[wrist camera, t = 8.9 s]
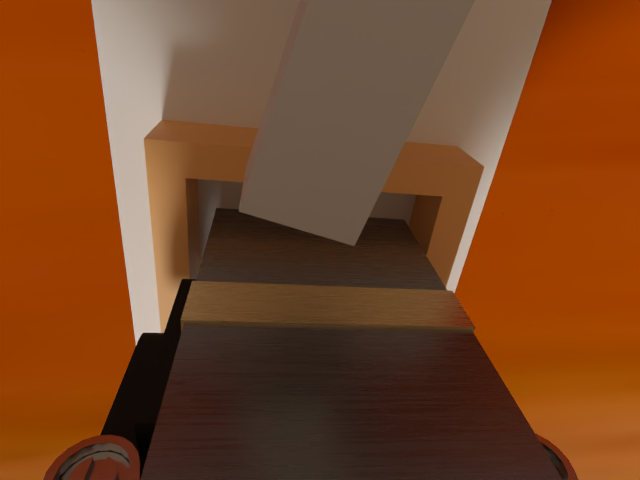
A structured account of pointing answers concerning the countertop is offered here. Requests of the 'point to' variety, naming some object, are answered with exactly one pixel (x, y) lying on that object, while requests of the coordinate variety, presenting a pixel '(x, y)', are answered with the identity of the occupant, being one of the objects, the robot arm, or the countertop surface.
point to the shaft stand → (304, 121)
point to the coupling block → (332, 367)
